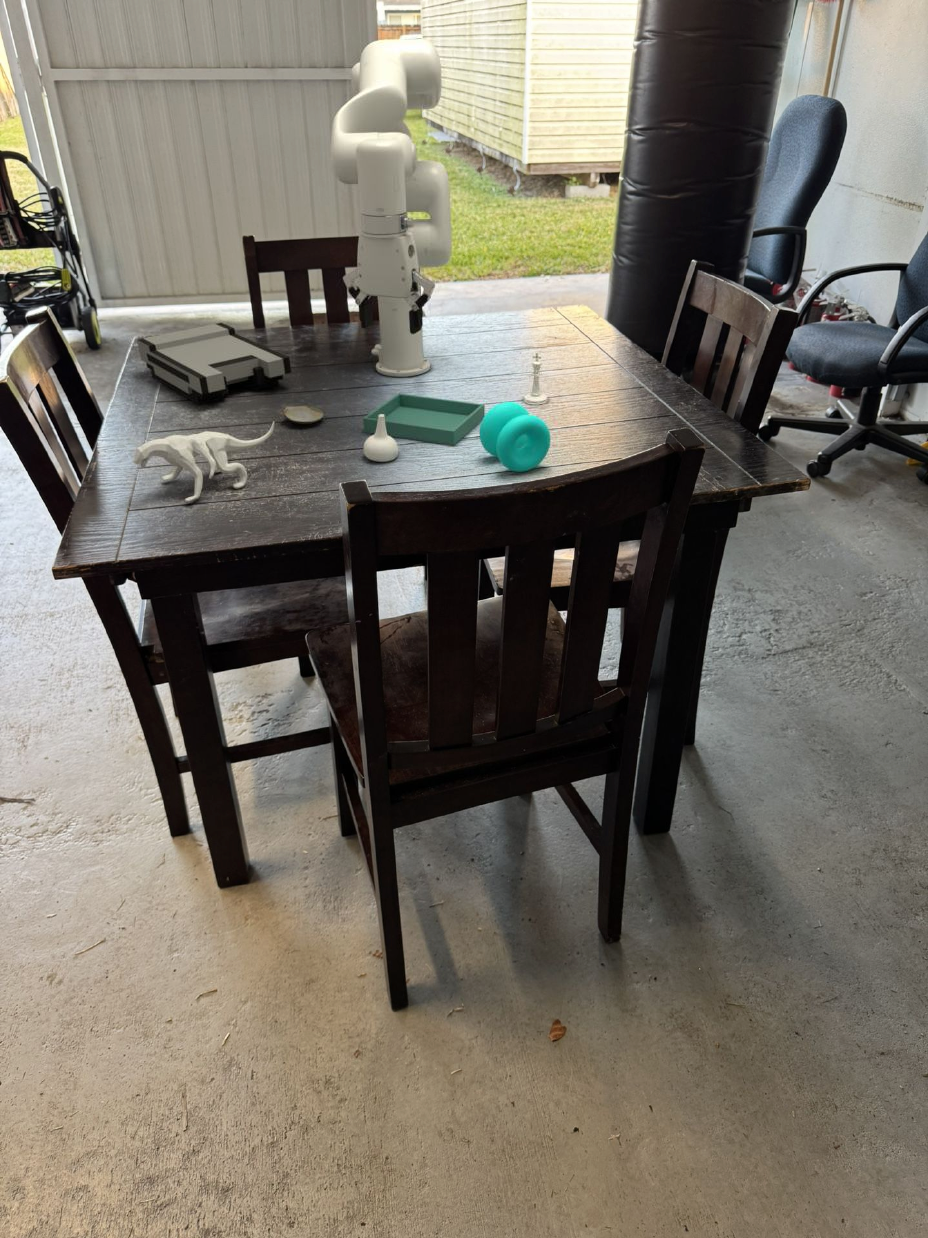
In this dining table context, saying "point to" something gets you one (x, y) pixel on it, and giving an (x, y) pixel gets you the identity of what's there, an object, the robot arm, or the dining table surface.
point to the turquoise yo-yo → (514, 436)
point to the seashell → (302, 414)
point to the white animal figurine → (205, 444)
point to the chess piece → (536, 385)
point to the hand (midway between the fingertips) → (391, 328)
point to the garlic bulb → (380, 444)
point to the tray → (426, 418)
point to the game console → (211, 362)
